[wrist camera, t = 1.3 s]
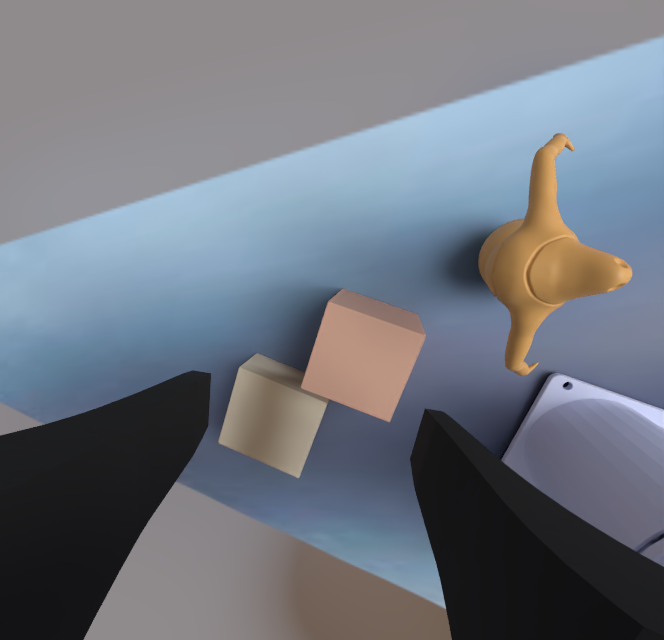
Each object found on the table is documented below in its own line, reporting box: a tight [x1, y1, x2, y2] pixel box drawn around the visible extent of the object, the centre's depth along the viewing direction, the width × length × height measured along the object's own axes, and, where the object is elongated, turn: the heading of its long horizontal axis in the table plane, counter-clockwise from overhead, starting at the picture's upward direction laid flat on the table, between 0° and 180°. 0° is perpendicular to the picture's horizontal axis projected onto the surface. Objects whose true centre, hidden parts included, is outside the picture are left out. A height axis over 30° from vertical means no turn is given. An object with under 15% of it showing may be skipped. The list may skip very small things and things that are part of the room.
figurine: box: [478, 133, 632, 376], centre depth 12 cm, size 8×6×12 cm
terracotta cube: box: [301, 289, 426, 422], centre depth 18 cm, size 5×5×5 cm
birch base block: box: [218, 353, 329, 478], centre depth 22 cm, size 6×6×3 cm
